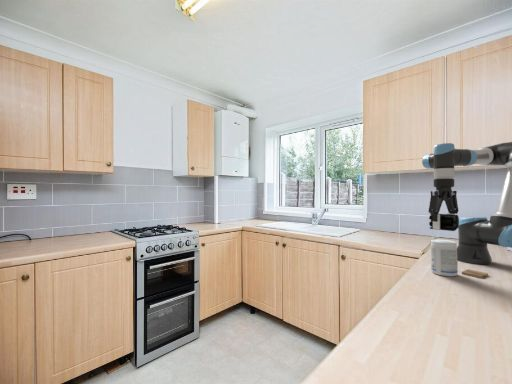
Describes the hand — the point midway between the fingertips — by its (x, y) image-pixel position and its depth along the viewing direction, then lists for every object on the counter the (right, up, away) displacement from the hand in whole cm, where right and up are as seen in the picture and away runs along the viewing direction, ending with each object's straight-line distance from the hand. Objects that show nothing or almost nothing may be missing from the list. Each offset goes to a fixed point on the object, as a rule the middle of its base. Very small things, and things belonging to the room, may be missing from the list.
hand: (443, 228), depth 115 cm
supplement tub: (0, -21, 0) cm, 21 cm away
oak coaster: (+13, -20, -2) cm, 24 cm away
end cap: (0, -1, 0) cm, 1 cm away
